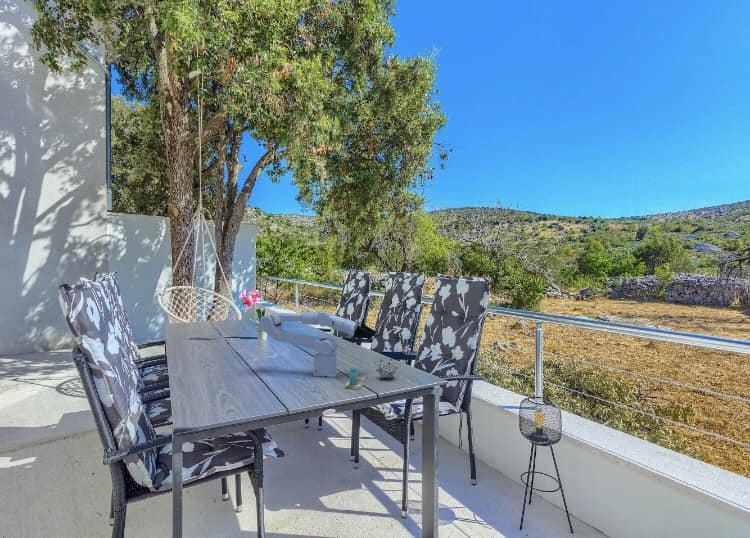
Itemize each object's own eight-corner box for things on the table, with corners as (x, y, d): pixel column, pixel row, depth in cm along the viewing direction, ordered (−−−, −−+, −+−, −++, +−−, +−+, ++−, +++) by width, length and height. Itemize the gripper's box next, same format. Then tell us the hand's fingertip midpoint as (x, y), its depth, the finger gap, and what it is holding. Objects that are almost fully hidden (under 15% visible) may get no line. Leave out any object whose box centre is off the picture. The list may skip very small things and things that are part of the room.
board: (344, 388, 153) (344, 385, 153) (353, 375, 171) (353, 373, 171) (359, 389, 152) (359, 386, 152) (367, 376, 170) (367, 373, 170)
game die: (390, 388, 166) (395, 373, 160) (371, 380, 167) (376, 364, 161) (396, 373, 173) (402, 358, 167) (379, 365, 174) (383, 350, 168)
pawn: (348, 385, 154) (348, 367, 154) (350, 382, 157) (350, 365, 157) (356, 385, 153) (356, 368, 153) (357, 383, 156) (358, 366, 156)
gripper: (342, 318, 164) (373, 328, 162) (350, 314, 178) (379, 324, 176) (337, 334, 164) (368, 344, 162) (345, 329, 179) (374, 339, 176)
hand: (373, 335), depth 169 cm, fingers open, 7 cm apart
